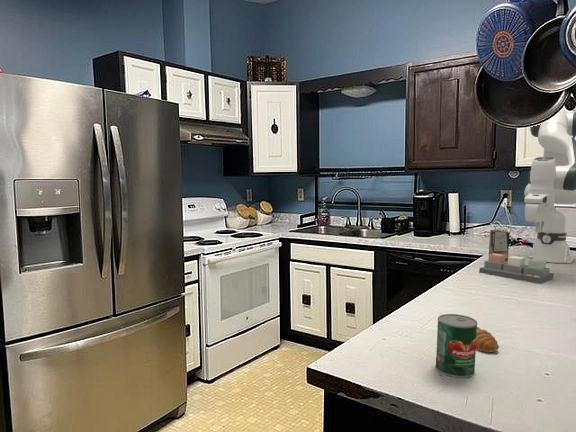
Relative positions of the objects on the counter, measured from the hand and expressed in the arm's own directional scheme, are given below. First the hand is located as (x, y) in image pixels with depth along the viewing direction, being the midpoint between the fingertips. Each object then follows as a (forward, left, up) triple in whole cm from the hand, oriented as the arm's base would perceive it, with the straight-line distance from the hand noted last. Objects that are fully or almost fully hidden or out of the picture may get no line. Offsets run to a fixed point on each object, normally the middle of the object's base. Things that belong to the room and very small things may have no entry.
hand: (539, 232), depth 172 cm
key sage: (0, 0, -15) cm, 15 cm away
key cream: (0, -8, -15) cm, 17 cm away
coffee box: (-15, -22, -19) cm, 33 cm away
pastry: (+85, +18, -20) cm, 89 cm away
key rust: (0, -16, -15) cm, 22 cm away
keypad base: (0, -8, -19) cm, 21 cm away
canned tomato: (+102, +21, -19) cm, 106 cm away
